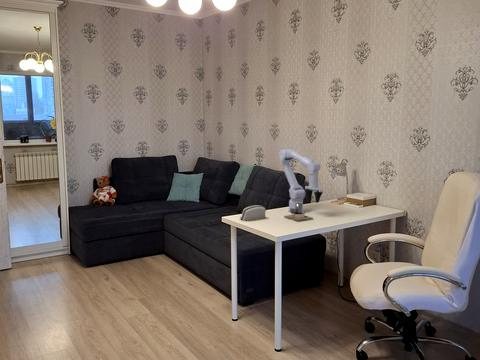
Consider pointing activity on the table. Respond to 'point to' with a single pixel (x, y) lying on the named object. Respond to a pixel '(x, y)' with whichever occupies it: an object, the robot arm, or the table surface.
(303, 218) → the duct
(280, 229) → the table surface
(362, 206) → the table surface
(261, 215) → the grey napkin holder
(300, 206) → the elbow
